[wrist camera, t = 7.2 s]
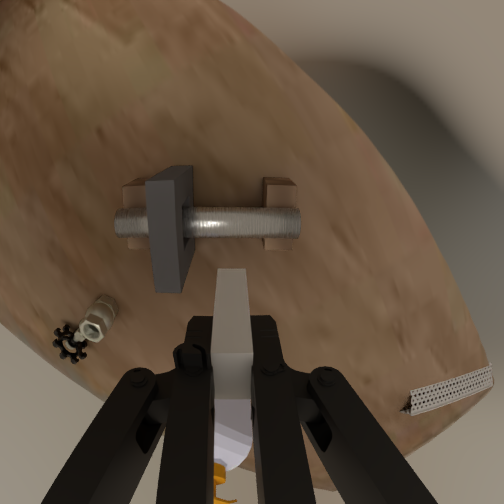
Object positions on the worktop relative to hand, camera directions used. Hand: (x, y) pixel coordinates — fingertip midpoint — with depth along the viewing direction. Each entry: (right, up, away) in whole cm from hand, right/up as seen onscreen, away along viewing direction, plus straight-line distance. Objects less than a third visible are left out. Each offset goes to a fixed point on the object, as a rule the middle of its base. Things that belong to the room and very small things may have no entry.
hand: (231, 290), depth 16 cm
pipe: (-3, +6, +14) cm, 15 cm away
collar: (-7, +7, +17) cm, 19 cm away
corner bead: (+50, -31, +38) cm, 70 cm away
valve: (-23, -8, +24) cm, 35 cm away
